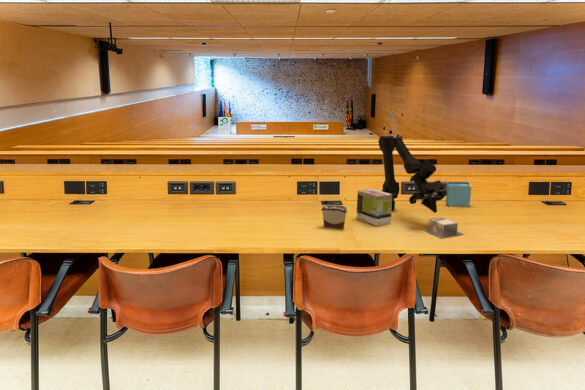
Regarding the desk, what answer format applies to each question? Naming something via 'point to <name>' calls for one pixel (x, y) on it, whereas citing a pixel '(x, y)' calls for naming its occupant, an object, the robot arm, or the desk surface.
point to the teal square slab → (458, 195)
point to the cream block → (442, 226)
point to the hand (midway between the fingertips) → (435, 212)
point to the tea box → (374, 206)
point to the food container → (334, 216)
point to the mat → (442, 235)
